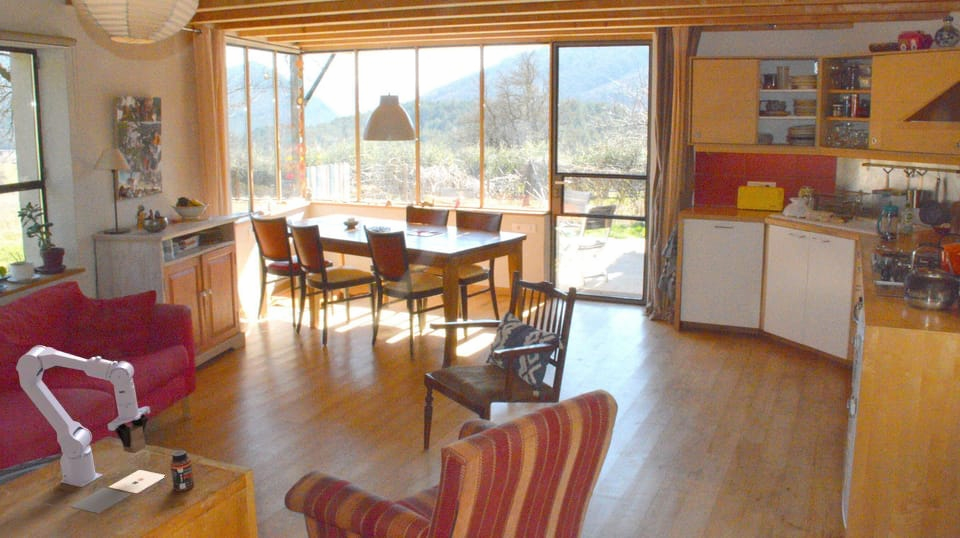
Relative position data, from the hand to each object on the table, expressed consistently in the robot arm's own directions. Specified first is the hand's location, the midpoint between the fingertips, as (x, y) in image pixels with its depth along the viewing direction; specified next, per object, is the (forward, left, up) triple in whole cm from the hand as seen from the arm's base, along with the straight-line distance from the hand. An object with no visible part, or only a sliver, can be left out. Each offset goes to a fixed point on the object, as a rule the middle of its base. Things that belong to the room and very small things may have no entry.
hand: (133, 443), depth 273 cm
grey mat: (+3, -17, -10) cm, 20 cm away
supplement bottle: (+21, -2, -11) cm, 24 cm away
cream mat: (+4, -4, -10) cm, 12 cm away
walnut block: (0, 0, -2) cm, 2 cm away
